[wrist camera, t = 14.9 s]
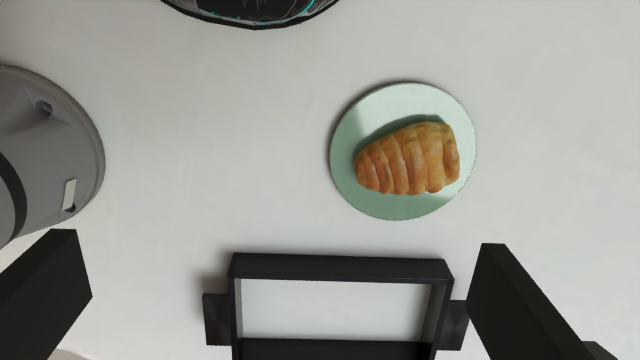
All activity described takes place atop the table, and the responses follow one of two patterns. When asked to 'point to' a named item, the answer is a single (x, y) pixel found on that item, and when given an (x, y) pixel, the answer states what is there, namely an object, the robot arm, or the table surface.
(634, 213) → the table surface
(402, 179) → the pastry
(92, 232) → the table surface
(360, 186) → the plate
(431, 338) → the pan
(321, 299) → the table surface
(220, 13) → the black domed oval piece
